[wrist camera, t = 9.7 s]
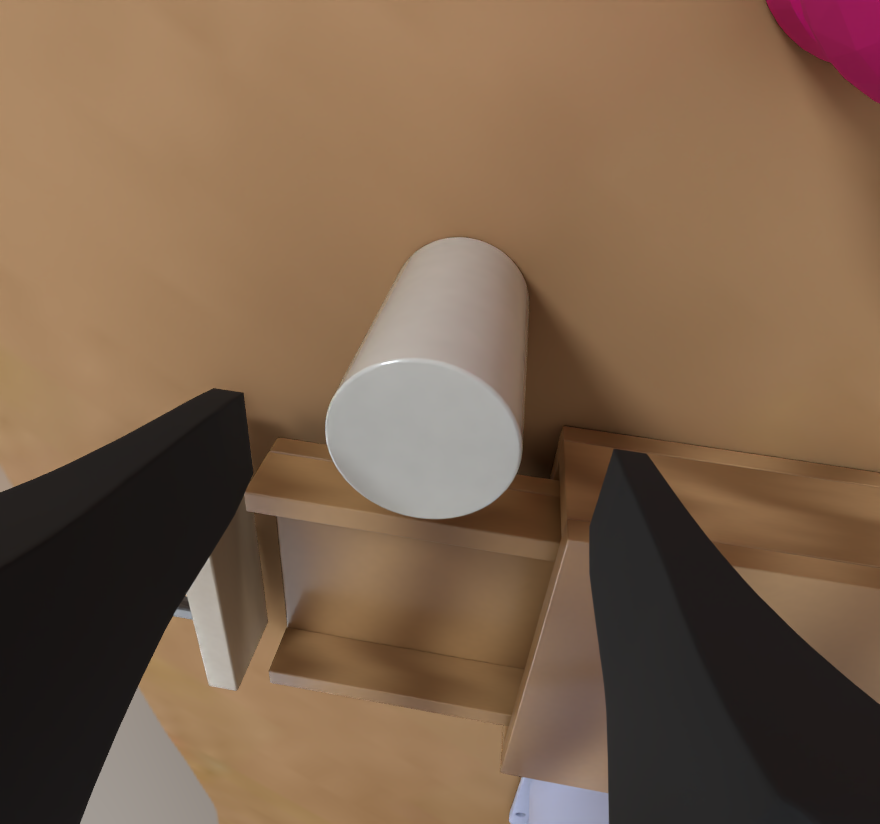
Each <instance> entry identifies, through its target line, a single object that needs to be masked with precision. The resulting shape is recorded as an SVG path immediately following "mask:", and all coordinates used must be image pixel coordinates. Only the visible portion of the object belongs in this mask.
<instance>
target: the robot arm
mask: <svg viewBox="0 0 880 824" xmlns="http://www.w3.org/2000/svg"><path fill="white" fill-rule="evenodd" d="M252 475H253V466H252V458H251V450H250V442H249V434H248V426H247V418H246V409H245V401H244V393H241V392H235V391H228V390H221V389H215V388H213V389H211V390H209V391H207V392H205V393H203V394H201V395H199V396H197V397H195V398H193V399H191V400H189V401H188V402H186V403H184V404H182V405H180V406H178V407H177V408H175V409H173V410H171V411H169V412H167V413H166V414H164V415H162V416H160V417H158V418H157V419H155V420H153V421H151V422H149V423H147V424H146V425H144V426H142V427H140V428H138V429H136V430H135V431H133V432H131V433H129V434H127V435H125V436H123V437H122V438H120V439H118V440H116V441H114V442H112V443H110V444H108V445H106V446H104V447H102V448H100V449H97V450H95V451H93V452H91V453H89V454H87V455H85V456H83V457H81V458H79V459H77V460H75V461H73V462H71V463H69V464H67V465H65V466H63V467H60V468H58V469H56V470H54V471H52V472H49V473H47V474H45V475H42V476H40V477H38V478H35V479H33V480H30V481H28V482H25V483H23V484H20V485H18V486H15V487H13V488H11V489H8V490H6V491H3V492H0V824H80V822H81V819H82V817H83V814H84V811H85V809H86V806H87V804H88V801H89V798H90V796H91V793H92V791H93V788H94V786H95V783H96V781H97V779H98V776H99V774H100V772H101V769H102V767H103V764H104V762H105V760H106V757H107V755H108V753H109V750H110V748H111V745H112V743H113V741H114V738H115V736H116V733H117V731H118V729H119V727H120V724H121V722H122V720H123V718H124V716H125V714H126V711H127V709H128V707H129V705H130V703H131V700H132V698H133V696H134V694H135V691H136V689H137V687H138V685H139V683H140V681H141V678H142V676H143V674H144V672H145V670H146V668H147V666H148V664H149V662H150V660H151V658H152V656H153V654H154V652H155V650H156V648H157V645H158V643H159V641H160V639H161V637H162V635H163V633H164V631H165V629H166V627H167V626H168V624H169V622H170V620H171V619H172V617H173V615H174V613H175V612H176V610H177V608H178V606H179V605H180V603H181V602H182V600H183V598H184V597H185V595H186V594H187V592H188V590H189V589H190V587H191V586H192V584H193V582H194V581H195V579H196V578H197V576H198V574H199V573H200V571H201V570H202V568H203V566H204V565H205V563H206V562H207V560H208V558H209V557H210V555H211V554H212V552H213V550H214V549H215V547H216V545H217V544H218V542H219V541H220V539H221V537H222V536H223V534H224V532H225V531H226V529H227V527H228V526H229V524H230V522H231V521H232V519H233V517H234V516H235V514H236V511H237V509H238V507H239V505H240V503H241V501H242V498H243V496H244V494H245V491H246V489H247V487H248V484H249V482H250V480H251V477H252ZM589 575H590V583H591V591H592V599H593V607H594V615H595V622H596V630H597V637H598V644H599V652H600V659H601V667H602V674H603V682H604V691H605V702H606V720H607V752H608V793H604V792H599V791H593V790H588V789H583V788H577V787H572V786H567V785H562V784H556V783H551V782H546V781H541V780H535V779H530V778H525V777H522V778H521V781H520V784H519V787H518V789H517V792H516V795H515V798H514V801H513V804H512V807H511V810H510V813H509V822H510V823H511V824H880V704H879V703H877V702H876V701H875V700H874V699H872V698H871V697H870V696H869V695H868V694H866V693H865V692H864V691H863V690H861V689H860V688H859V687H858V686H856V685H855V684H854V683H853V682H852V681H850V680H849V679H848V678H847V677H846V676H844V675H843V674H842V673H841V672H840V671H839V670H838V669H836V668H835V667H834V666H833V665H832V664H831V663H830V662H828V661H827V660H826V659H825V658H824V657H823V656H822V655H820V654H819V653H818V652H817V651H816V650H815V649H814V648H812V647H811V646H810V645H809V644H808V643H807V642H806V641H805V640H804V639H803V638H802V637H800V636H799V635H798V634H797V633H796V632H795V631H794V630H793V629H792V628H791V627H790V626H789V625H788V624H787V623H786V622H785V621H784V620H783V619H782V618H781V617H780V616H779V615H778V614H777V613H776V612H775V611H774V610H773V609H772V608H771V607H770V606H769V605H768V604H767V603H766V602H765V601H764V600H763V599H762V598H761V597H760V596H759V595H758V594H757V593H756V592H755V591H754V590H753V589H752V588H751V587H750V586H749V584H748V583H747V582H746V581H745V580H744V579H743V578H742V577H741V576H740V574H739V573H738V572H737V571H736V570H735V569H734V567H733V566H732V565H731V564H730V563H729V562H728V561H727V559H726V558H725V557H724V556H723V555H722V554H721V553H720V551H719V550H718V549H717V548H716V546H715V545H714V544H713V543H712V541H711V540H710V539H709V538H708V537H707V535H706V534H705V533H704V531H703V530H702V529H701V528H700V526H699V525H698V524H697V522H696V521H695V520H694V518H693V517H692V516H691V515H690V513H689V512H688V510H687V509H686V508H685V506H684V505H683V504H682V502H681V501H680V499H679V498H678V497H677V495H676V494H675V493H674V491H673V490H672V488H671V487H670V486H669V484H668V483H667V481H666V480H665V478H664V477H663V476H662V474H661V473H660V471H659V470H658V469H657V467H656V466H655V464H654V463H653V461H652V460H651V459H650V457H649V456H648V455H647V453H640V452H633V451H627V450H620V449H613V453H612V456H611V459H610V462H609V465H608V469H607V472H606V475H605V478H604V481H603V485H602V488H601V491H600V494H599V497H598V501H597V504H596V507H595V510H594V513H593V516H592V520H591V523H590V526H589Z"/></svg>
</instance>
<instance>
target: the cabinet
mask: <svg viewBox="0 0 880 824" xmlns="http://www.w3.org/2000/svg"><path fill="white" fill-rule="evenodd" d="M613 449H620V450H627V451H633V452H640V453H647V455H648V456H649V457H650V459H651V460H652V461H653V463H654V464H655V466H656V467H657V469H658V470H659V471H660V473H661V474H662V476H663V477H664V478H665V480H666V481H667V483H668V484H669V486H670V487H671V488H672V490H673V491H674V493H675V494H676V495H677V497H678V498H679V499H680V501H681V502H682V504H683V505H684V506H685V508H686V509H687V510H688V512H689V513H690V515H691V516H692V517H693V518H694V520H695V521H696V522H697V524H698V525H699V526H700V528H701V529H702V530H703V531H704V533H705V534H706V535H707V537H708V538H709V539H710V540H711V541H712V543H713V544H714V545H715V546H716V548H717V549H718V550H719V551H720V553H721V554H722V555H723V556H724V557H725V558H726V559H727V561H728V562H729V563H730V564H731V565H732V566H733V567H734V569H735V570H736V571H737V572H738V573H739V574H740V576H741V577H742V578H743V579H744V580H745V581H746V582H747V583H748V584H749V586H750V587H751V588H752V589H753V590H754V591H755V592H756V593H757V594H758V595H759V596H760V597H761V598H762V599H763V600H764V601H765V602H766V603H767V604H768V605H769V606H770V607H771V608H772V609H773V610H774V611H775V612H776V613H777V614H778V615H779V616H780V617H781V618H782V619H783V620H784V621H785V622H786V623H787V624H788V625H789V626H790V627H791V628H792V629H793V630H794V631H795V632H796V633H797V634H798V635H799V636H800V637H802V638H803V639H804V640H805V641H806V642H807V643H808V644H809V645H810V646H811V647H812V648H814V649H815V650H816V651H817V652H818V653H819V654H820V655H822V656H823V657H824V658H825V659H826V660H827V661H828V662H830V663H831V664H832V665H833V666H834V667H835V668H836V669H838V670H839V671H840V672H841V673H842V674H843V675H844V676H846V677H847V678H848V679H849V680H850V681H852V682H853V683H854V684H855V685H856V686H858V687H859V688H860V689H861V690H863V691H864V692H865V693H866V694H868V695H869V696H870V697H871V698H872V699H874V700H875V701H876V702H877V703H879V704H880V473H878V472H871V471H864V470H858V469H851V468H844V467H837V466H831V465H824V464H817V463H811V462H804V461H797V460H790V459H784V458H777V457H770V456H763V455H757V454H750V453H743V452H736V451H730V450H723V449H716V448H709V447H703V446H696V445H689V444H682V443H676V442H669V441H662V440H655V439H649V438H642V437H635V436H628V435H622V434H615V433H608V432H601V431H595V430H588V429H581V428H574V427H568V426H563V427H562V431H561V435H560V439H559V443H558V447H557V451H556V455H555V460H554V464H553V468H552V472H551V476H550V479H551V480H558V481H560V510H561V536H562V539H561V542H560V546H559V549H558V553H557V556H556V560H555V563H554V567H553V570H552V574H551V578H550V581H549V585H548V588H547V592H546V595H545V599H544V602H543V606H542V610H541V613H540V617H539V620H538V624H537V627H536V631H535V634H534V638H533V642H532V645H531V649H530V652H529V656H528V659H527V663H526V666H525V670H524V673H523V677H522V681H521V684H520V688H519V691H518V695H517V698H516V702H515V705H514V709H513V713H512V716H511V720H510V723H509V726H504V725H503V732H502V752H501V766H500V772H501V773H504V774H509V775H514V776H519V777H525V778H530V779H535V780H541V781H546V782H551V783H556V784H562V785H567V786H572V787H577V788H583V789H588V790H593V791H599V792H604V793H608V752H607V720H606V702H605V691H604V682H603V674H602V667H601V659H600V652H599V644H598V637H597V630H596V622H595V615H594V607H593V599H592V591H591V583H590V575H589V526H590V523H591V520H592V516H593V513H594V510H595V507H596V504H597V501H598V497H599V494H600V491H601V488H602V485H603V481H604V478H605V475H606V472H607V469H608V465H609V462H610V459H611V456H612V453H613Z"/></svg>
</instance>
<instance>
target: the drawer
mask: <svg viewBox="0 0 880 824" xmlns="http://www.w3.org/2000/svg"><path fill="white" fill-rule="evenodd" d="M254 513H260V514H266V515H273V516H276V520H277V530H278V540H279V549H280V559H281V569H282V579H283V589H284V598H285V608H286V618H287V628H286V630H285V633H284V635H283V638H282V640H281V643H280V645H279V648H278V650H277V652H276V655H275V657H274V660H273V662H272V665H271V667H270V669H269V676H270V682H271V683H275V684H281V685H286V686H292V687H297V688H303V689H308V690H314V691H319V692H324V693H330V694H335V695H341V696H346V697H352V698H357V699H362V700H368V701H373V702H379V703H384V704H390V705H395V706H401V707H406V708H411V709H417V710H422V711H428V712H433V713H439V714H444V715H449V716H455V717H460V718H466V719H471V720H477V721H482V722H488V723H493V724H498V725H504V726H509V723H510V720H511V716H512V713H513V709H514V705H515V702H516V698H517V695H518V691H519V688H520V684H521V681H522V677H523V673H524V670H525V666H526V663H527V659H528V656H529V652H530V649H531V645H532V642H533V638H534V634H535V631H536V627H537V624H538V620H539V617H540V613H541V610H542V606H543V602H544V599H545V595H546V592H547V588H548V585H549V581H550V578H551V574H552V570H553V567H554V563H555V560H556V556H557V553H558V549H559V546H560V542H561V539H562V536H561V510H560V481H558V480H551V479H545V478H538V477H532V476H525V475H519V474H516V476H515V478H514V480H513V482H512V483H511V484H510V486H509V487H508V489H507V490H506V491H505V492H504V493H503V494H502V495H501V496H500V497H499V498H498V499H496V500H495V501H494V502H492V503H491V504H489V505H488V506H486V507H484V508H483V509H480V510H478V511H476V512H473V513H471V514H467V515H464V516H460V517H455V518H448V519H423V518H415V517H410V516H405V515H402V514H398V513H395V512H392V511H390V510H387V509H385V508H383V507H381V506H379V505H377V504H375V503H373V502H371V501H370V500H368V499H367V498H365V497H364V496H362V495H361V494H360V493H359V492H357V491H356V490H355V489H354V488H353V487H352V486H351V485H350V484H349V483H348V482H347V481H346V480H345V479H344V477H343V476H342V475H341V474H340V472H339V471H338V469H337V467H336V466H335V464H334V462H333V460H332V458H331V456H330V453H329V450H328V446H327V445H325V444H318V443H312V442H306V441H299V440H293V439H286V438H280V437H279V438H277V439H276V441H275V443H274V444H273V446H272V448H271V449H270V452H268V454H267V455H266V457H265V459H264V460H263V462H262V464H261V465H260V467H259V469H258V470H257V472H256V473H255V475H254V477H253V478H252V480H251V482H249V484H248V487H247V489H246V491H245V494H244V496H243V498H242V501H241V503H240V505H239V507H238V509H237V511H236V514H235V516H234V517H233V519H232V521H231V522H230V524H229V526H228V527H227V529H226V531H225V532H224V534H223V536H222V537H221V539H220V541H219V542H218V544H217V545H216V547H215V549H214V550H213V552H212V554H211V555H210V557H209V558H208V560H207V562H206V563H205V565H204V566H203V568H202V570H201V571H200V573H199V574H198V576H197V578H196V579H195V581H194V582H193V584H192V586H191V587H190V589H189V590H188V592H187V596H185V597H184V598H183V600H182V602H181V603H180V605H179V606H178V608H177V610H176V612H175V613H174V615H173V616H175V617H181V618H186V619H192V620H193V622H194V626H195V630H196V634H197V638H198V643H199V647H200V651H201V655H202V659H203V663H204V667H205V671H206V675H207V679H208V683H209V685H210V686H213V687H219V688H224V689H230V690H235V691H237V690H238V688H239V686H240V684H241V682H242V679H243V677H244V675H245V673H246V670H247V668H248V666H249V664H250V661H251V659H252V657H253V655H254V652H255V650H256V648H257V646H258V643H259V641H260V639H261V637H262V634H263V632H264V630H265V628H266V625H267V623H268V617H267V609H266V602H265V594H264V586H263V579H262V571H261V563H260V556H259V548H258V540H257V533H256V525H255V518H254Z"/></svg>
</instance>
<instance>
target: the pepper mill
mask: <svg viewBox="0 0 880 824" xmlns="http://www.w3.org/2000/svg"><path fill="white" fill-rule="evenodd" d="M766 2H767V4H768V7H769V9H770V11H771V12H772V14H773V16H774V18H775V19H776V21H777V23H778V24H779V26H780V27H781V28H782V29H783V30H784V32H785V33H786V34H787V35H788V36H789V37H790V38H791V39H792V40H793V41H794V42H795V43H796V44H798V45H799V46H800V47H801V48H802V49H804V50H806V51H807V52H809V53H811V54H812V55H814V56H816V57H818V58H819V59H822V60H824V61H827V62H830V63H832V65H833V66H834V67H835V68H836V69H837V70H838V72H839V73H840V74H841V75H842V76H843V77H844V78H845V79H846V80H847V81H848V82H850V83H851V84H852V85H854V86H855V87H856V88H858V89H859V90H860V91H862V92H863V93H864V94H866V95H867V96H868V97H870V98H871V99H872V100H874V101H875V102H877V103H880V0H766Z"/></svg>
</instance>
